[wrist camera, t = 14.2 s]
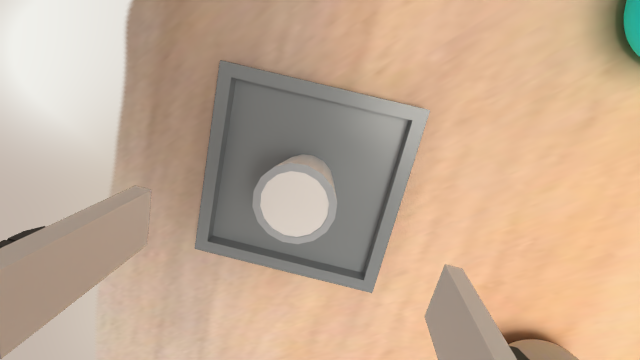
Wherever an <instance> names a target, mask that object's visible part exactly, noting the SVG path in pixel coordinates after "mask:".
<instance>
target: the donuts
mask: <svg viewBox="0 0 640 360" xmlns="http://www.w3.org/2000/svg"><path fill="white" fill-rule="evenodd" d="M624 30H625V35H626V38H627V41H628V43H629V45H630V46H631V48H632V49H633V51H634V52H635V53H636V54H637V55H638V56H639V57H640V0H627V1H626V5H625V10H624Z"/></svg>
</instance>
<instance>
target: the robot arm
mask: <svg viewBox="0 0 640 360" xmlns="http://www.w3.org/2000/svg"><path fill="white" fill-rule="evenodd" d="M151 193H152V190H151V189H147V188H143V187H139V186H133V187H131V188H129V189H127V190H124V191H122V192H120V193H118V194H116V195H114V196H112V197H109V198H107V199H105V200H103V201H101V202H99V203H97V204H95V205H92V206H90V207H88V208H86V209H84V210H82V211H79V212H77V213H75V214H73V215H71V216H69V217H67V218H65V219H63V220H60V221H58V222H56V223H54V224H52V225H49V226H47V227H45V226H43V227H39V228H35V229H31V230H27V231H23V232H21V233H19V234H17V235H14V236H12V237H10V238H8V239H7V240H3V241H1V242H0V359H2V358H3V357H4V356H5V355H7V354H8V353H9V352H11V351H12V350H13V349H15V348H16V347H17V346H18V345H20V344H21V343H22V342H23V341H25V340H26V339H27V338H29V337H30V336H31V335H32V334H34V333H35V332H36V331H38V330H39V329H40V328H41V327H43V326H44V325H45V324H46V323H48V322H49V321H50V320H51V319H53V318H54V317H55V316H57V315H58V314H59V313H61V312H62V311H63V310H64V309H66V308H67V307H68V306H69V305H71V304H72V303H73V302H75V301H76V300H77V299H78V298H80V297H81V296H82V295H84V294H85V293H86V292H87V291H89V290H90V289H91V288H93V287H94V286H95V285H96V284H98V283H99V282H100V281H101V280H103V279H104V278H105V277H107V276H108V275H109V274H110V273H112V272H113V271H114V270H116V269H117V268H118V267H119V266H121V265H122V264H123V263H124V262H126V261H127V260H128V259H130V258H131V257H132V256H133V255H135V254H136V253H137V252H139V251H140V250H141V249H142V248H144V247H145V246H146V245H147V241H148V229H149V217H150V205H151ZM425 319H426V323H427V326H428V329H429V332H430V335H431V338H432V342H433V345H434V348H435V351H436V354H437V358H438V360H530V359H529V358H528V357H527V356H526V355H525V354H524V353H522V352H521V351H520V350H519V349H518V348H517V347H513V346H509V345H508V344H507V342H506V340H505V339H504V337H503V335H502V334H501V332H500V330H499V329H498V327H497V325H496V324H495V322H494V320H493V319H492V317H491V315H490V314H489V312H488V310H487V309H486V307H485V305H484V304H483V302H482V300H481V299H480V297H479V295H478V294H477V292H476V290H475V289H474V287H473V285H472V284H471V282H470V280H469V279H468V277H467V275H466V274H465V272H464V270H463V269H462V268H458V267H454V266H450V265H446V264H445V266H444V268H443V271H442V273H441V276H440V278H439V281H438V283H437V286H436V288H435V291H434V294H433V296H432V299H431V301H430V304H429V306H428V309H427V311H426V314H425Z"/></svg>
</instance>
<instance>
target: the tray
mask: <svg viewBox="0 0 640 360" xmlns="http://www.w3.org/2000/svg"><path fill="white" fill-rule="evenodd" d="M429 112H430V110H427V109H423V108H419V107H415V106H410V105H406V104H402V103H398V102H394V101H389V100H385V99H381V98H377V97H373V96H368V95H364V94H360V93H356V92H352V91H348V90H343V89H339V88H335V87H331V86H327V85H322V84H318V83H314V82H310V81H306V80H301V79H297V78H293V77H289V76H285V75H281V74H276V73H272V72H268V71H264V70H260V69H255V68H251V67H247V66H243V65H239V64H234V63H230V62H226V61H222V60H220V65H219V72H218V80H217V87H216V94H215V102H214V109H213V117H212V124H211V131H210V139H209V146H208V154H207V161H206V168H205V176H204V183H203V191H202V198H201V205H200V213H199V220H198V228H197V235H196V243H195V249H198V250H202V251H206V252H210V253H214V254H218V255H222V256H226V257H230V258H234V259H238V260H242V261H246V262H250V263H254V264H258V265H262V266H266V267H270V268H274V269H278V270H282V271H286V272H290V273H294V274H298V275H302V276H306V277H310V278H314V279H318V280H322V281H326V282H330V283H334V284H338V285H342V286H346V287H350V288H354V289H358V290H362V291H366V292H370V293H372V292H373V289H374V286H375V283H376V279H377V276H378V273H379V270H380V267H381V264H382V260H383V257H384V254H385V251H386V248H387V245H388V242H389V238H390V235H391V232H392V229H393V226H394V223H395V219H396V216H397V213H398V210H399V207H400V204H401V201H402V197H403V194H404V191H405V188H406V185H407V182H408V179H409V175H410V172H411V169H412V166H413V163H414V160H415V156H416V153H417V150H418V147H419V144H420V141H421V138H422V134H423V131H424V128H425V125H426V122H427V119H428V115H429ZM301 154H305V155H312V156H315V157H317V158H319V159H320V160H322V161H324V162H325V164H326V165H327V166H328V168H329V169H330V170H331V174H332V178H333V182H334V188H335V193H336V199H337V208H336V215H335V220H334V221H333V223H332V224H331V226H330V227H329V229H328V231H327V232H326V233H324V234H323V235H321V236H320V237H319V238H317V239H316V240H314V241H311V242H306V243H301V244H293V243H287V242H282V241H280V240H278V239H276V238H274V237H273V236H271V235H269V234H268V233H267V232H266V231H265V230H264V229H263V228H262V226H261V225H260V224H259V223H258V222H257V219H256V216H255V213H254V210H253V207H252V205H253V192H254V189H255V187H256V185H257V184H258V182H259V180H260V178H261V177H262V176H263V175H264V174H265V173H267V172H268V171H269V170H271V169H272V168H273V167H275V166H277V165H278V164H280V163H282V162H284V161H286V160H287V159H289V158H291V157H294V156H298V155H301Z"/></svg>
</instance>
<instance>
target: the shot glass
mask: <svg viewBox="0 0 640 360" xmlns="http://www.w3.org/2000/svg"><path fill="white" fill-rule="evenodd" d="M252 207H253V210H254V213H255V216H256V219H257V222H258V223H259V224H260V225H261V226H262V228H263V229H264V230H265V231H266V232H267V233H268V234H269V235H271V236H273V237H274V238H276V239H278V240H280V241H282V242H287V243H293V244H301V243H306V242H311V241H314V240H316V239H317V238H319V237H320V236H321V235H323V234H324V233H326V232H327V231H328V229H329V227H330V226H331V224H332V223H333V221H334V220H335V215H336V208H337V199H336V193H335V188H334V182H333V178H332V174H331V170H330V169H329V168H328V166H327V165H326V164H325V162H324V161H322V160H320V159H319V158H317V157H315V156H312V155H305V154H301V155H298V156H294V157H291V158H289V159H287V160H286V161H284V162H282V163H280V164H278V165H277V166H275V167H273V168H272V169H271V170H269V171H268V172H267V173H265V174H264V175H263V176H262V177H261V178H260V180H259V182H258V184H257V185H256V187H255V189H254V192H253V205H252Z"/></svg>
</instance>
